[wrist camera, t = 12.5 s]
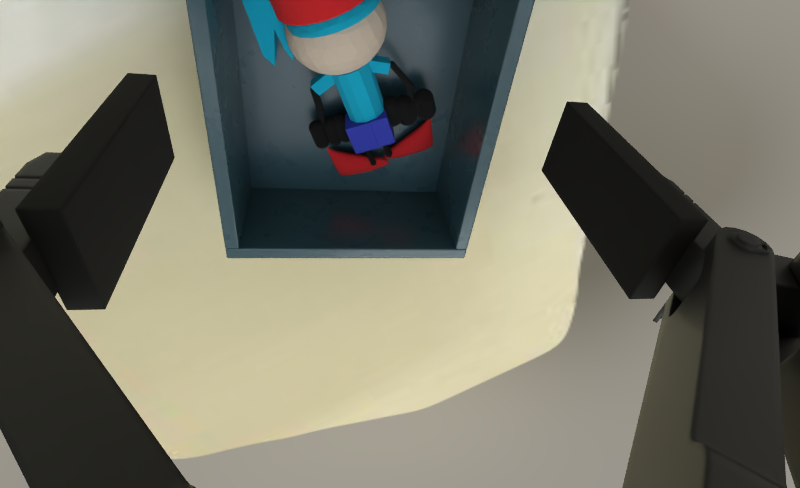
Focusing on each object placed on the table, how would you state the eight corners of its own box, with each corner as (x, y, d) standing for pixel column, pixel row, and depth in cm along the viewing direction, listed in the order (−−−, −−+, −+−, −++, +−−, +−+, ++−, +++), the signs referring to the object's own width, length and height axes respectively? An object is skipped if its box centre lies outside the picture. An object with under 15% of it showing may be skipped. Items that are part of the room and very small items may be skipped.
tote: (188, -273, 17) (133, -327, 12) (526, -208, 19) (598, -230, 14) (242, 191, 30) (226, 258, 25) (442, 196, 32) (464, 258, 27)
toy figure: (439, 124, 30) (368, -175, 18) (453, 176, 26) (377, -145, 15) (329, 155, 31) (195, -109, 19) (329, 209, 28) (170, -69, 16)
